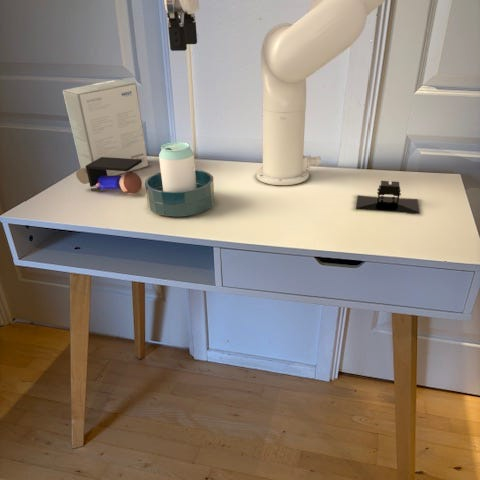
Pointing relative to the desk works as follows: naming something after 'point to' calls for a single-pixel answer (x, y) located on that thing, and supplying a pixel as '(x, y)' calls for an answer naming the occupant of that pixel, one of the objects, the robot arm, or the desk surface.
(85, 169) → the figurine character
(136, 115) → the hard drive box
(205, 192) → the bowl
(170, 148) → the can
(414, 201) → the build plate
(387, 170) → the desk surface
